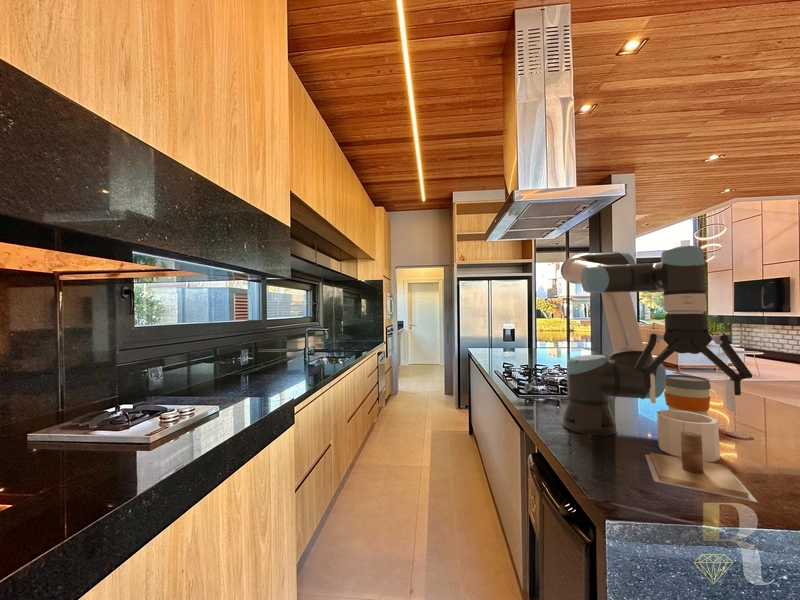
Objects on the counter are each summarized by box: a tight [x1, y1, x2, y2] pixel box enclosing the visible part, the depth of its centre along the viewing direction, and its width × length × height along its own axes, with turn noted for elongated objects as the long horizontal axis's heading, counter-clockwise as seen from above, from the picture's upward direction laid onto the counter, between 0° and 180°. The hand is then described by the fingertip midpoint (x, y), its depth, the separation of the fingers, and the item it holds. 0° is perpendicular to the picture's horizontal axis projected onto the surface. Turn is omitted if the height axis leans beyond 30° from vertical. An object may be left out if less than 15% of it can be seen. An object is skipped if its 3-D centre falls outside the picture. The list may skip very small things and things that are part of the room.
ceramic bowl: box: [656, 409, 721, 463], centre depth 87 cm, size 12×12×10 cm
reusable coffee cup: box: [663, 374, 712, 416], centre depth 113 cm, size 13×13×15 cm
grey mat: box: [644, 454, 758, 503], centre depth 74 cm, size 16×16×1 cm
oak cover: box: [649, 432, 749, 498], centre depth 75 cm, size 14×14×9 cm
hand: (690, 406), depth 75 cm, fingers open, 13 cm apart
